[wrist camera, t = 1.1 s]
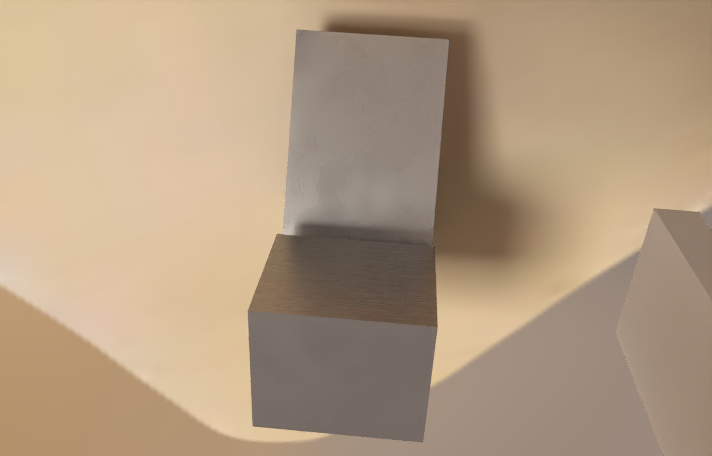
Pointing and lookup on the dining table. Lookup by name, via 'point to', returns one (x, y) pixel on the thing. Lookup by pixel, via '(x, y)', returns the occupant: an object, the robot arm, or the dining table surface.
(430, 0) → the dining table surface
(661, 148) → the dining table surface
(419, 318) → the chute
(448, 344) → the dining table surface
